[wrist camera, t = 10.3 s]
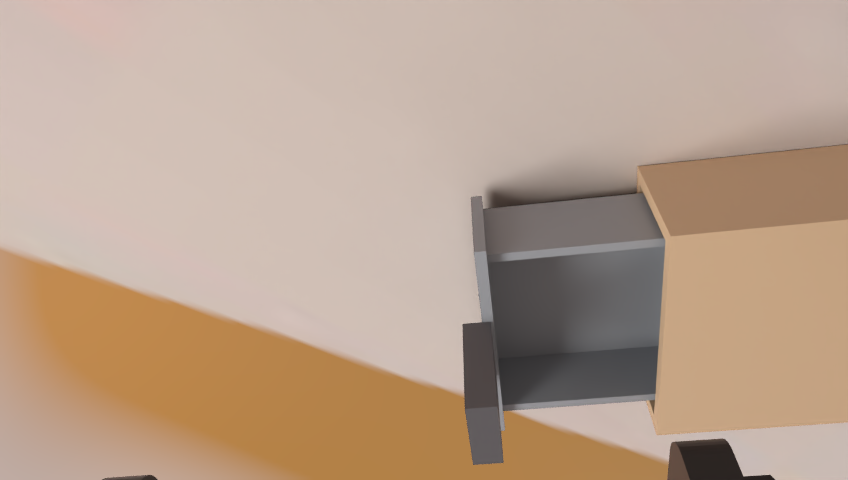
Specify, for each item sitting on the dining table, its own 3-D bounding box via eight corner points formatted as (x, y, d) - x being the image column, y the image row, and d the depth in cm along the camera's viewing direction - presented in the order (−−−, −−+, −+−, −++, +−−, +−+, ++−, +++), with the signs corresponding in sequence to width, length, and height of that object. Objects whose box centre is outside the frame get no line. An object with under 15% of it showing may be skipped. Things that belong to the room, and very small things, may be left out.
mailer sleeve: (884, 140, 38) (964, 208, 32) (835, 335, 46) (892, 419, 40) (637, 166, 39) (670, 236, 33) (630, 352, 47) (656, 435, 41)
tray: (703, 173, 38) (787, 306, 29) (686, 351, 46) (749, 505, 36) (452, 199, 40) (453, 334, 30) (474, 368, 47) (481, 520, 38)
